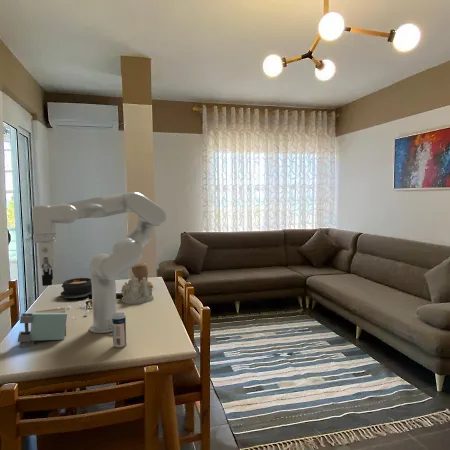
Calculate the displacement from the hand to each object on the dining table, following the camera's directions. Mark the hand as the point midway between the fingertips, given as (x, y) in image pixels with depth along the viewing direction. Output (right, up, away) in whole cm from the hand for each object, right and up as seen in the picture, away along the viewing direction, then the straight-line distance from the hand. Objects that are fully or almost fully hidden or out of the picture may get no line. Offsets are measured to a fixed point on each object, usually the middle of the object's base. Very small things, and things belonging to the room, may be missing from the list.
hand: (47, 282), depth 137 cm
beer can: (+29, -23, -4) cm, 37 cm away
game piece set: (-5, -21, +35) cm, 41 cm away
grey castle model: (+20, -19, +57) cm, 63 cm away
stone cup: (+17, -17, +81) cm, 84 cm away
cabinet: (-5, -22, +7) cm, 24 cm away
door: (-3, -22, 0) cm, 22 cm away
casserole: (-16, -18, +67) cm, 71 cm away
